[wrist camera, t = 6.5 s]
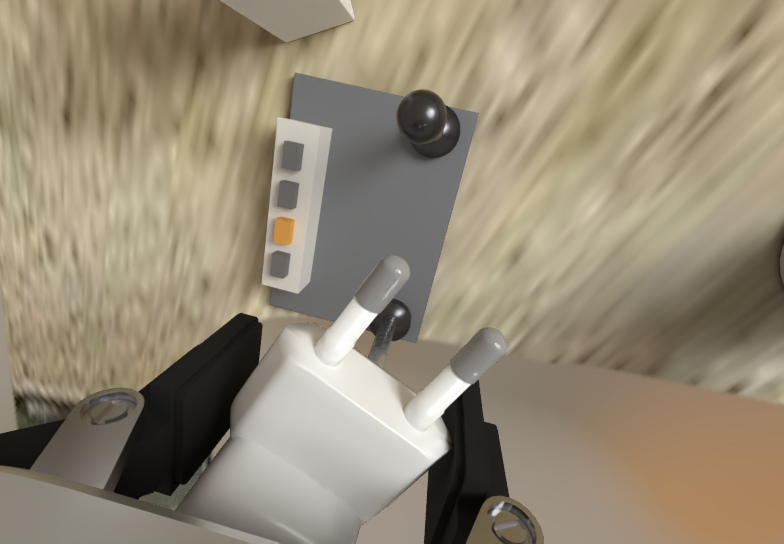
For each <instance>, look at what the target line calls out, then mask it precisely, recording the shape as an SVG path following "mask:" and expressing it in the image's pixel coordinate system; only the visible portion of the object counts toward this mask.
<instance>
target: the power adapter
mask: <svg viewBox="0 0 784 544" xmlns="http://www.w3.org/2000/svg"><path fill="white" fill-rule="evenodd" d="M409 277H410V268H409V265H408V264H407V262H406V261H405V260H404V259H403V258H401V257H399V256H397V255H387V256H384V257H383V258H382V259H381V260H380V261H379V263H378V264H377V265H376V267H375V268H374V269H373V270H372V272H371V273H370V274H369V276H368V277H367V278H366V280H365V281H364V282H363V284H362V285H361V286H360V287H359V289H358V290H357V291H356V293H355V296H354V298H353V299H352V300H351V302H350V303H349V304H348V305H347V307H346V308H345V309H344V311H343V312H342V313H341V315H340V316H339V317H338V318H337V320H336V321H335V322H334V324H332V325H330V326H329V328H328V329H325V328H323V327H321V326H320V325H318V324H317V323H297V324H289V325H288V326H287V327H286V328H285V329H284V330H283V331H282V332H281V334H280V335H279V336H278V337H277V339H276V340H275V341H274V343H273V344H272V346H271V347H270V349H269V350H268V351H267V353H266V354H265V356H264V357H263V359H262V360H261V361H260V363H259V364H258V365H257V367H256V368H255V370H254V371H253V373H252V374H251V375H250V377H249V378H248V380H247V381H246V382H245V384H244V385H243V387H242V388H241V389H240V391H239V392H238V394H237V395H236V397H235V399H234V401H233V403H232V405H231V414H230V438H229V439H228V440H227V442H226V443H225V444H224V445H223V447H222V448H221V449H220V451H219V452H218V453H217V455H216V456H215V457H214V458H213V460H212V461H211V462H210V464H209V465H208V466H207V468H206V469H205V470H204V472H203V473H202V474H201V476H200V477H199V478H198V480H197V481H196V482H195V484H194V485H193V486H192V488H191V489H190V490H189V492H188V493H187V494H186V496H185V497H184V499H183V500H182V501H181V503H180V504H179V505H178V507H177V508H176V509H175V511H177V512H180V513H183V514H187V515H190V516H193V517H197V518H200V519H203V520H207V521H210V522H213V523H216V524H220V525H223V526H226V527H229V528H233V529H236V530H239V531H243V532H246V533H249V534H252V535H256V536H259V537H262V538H265V539H269V540H272V541H275V542H278V543H281V544H356V540H357V537H358V534H359V530H360V527H361V525H363V524H364V523H366V522H367V521H369V520H370V519H371V518H373V517H374V516H376V515H377V514H378V513H380V512H381V511H382V510H384V509H385V508H386V507H388V506H389V505H390V504H391V503H392V502H393V501H394V500H396V499H397V498H398V497H399V496H400V495H401V494H402V493H403V492H405V491H406V490H407V489H408V488H409V487H410V486H411V485H412V484H413V483H414V482H415V481H417V480H418V479H419V478H420V477H421V476H422V475H423V474H424V473H426V472H427V471H428V470H429V469H430V468H431V467H432V466H433V465H435V464H436V463H437V462H438V461H439V460H440V459H441V458H442V457H444V456H445V455H446V454H447V453H448V452H449V451H450V450H451V449H452V448H453V440H452V438H451V436H450V434H449V432H448V430H447V428H446V426H445V424H444V422H443V420H442V418H441V415H442V414H443V413H444V411H445V409H446V408H447V407H448V406H449V405H450V404H451V403H452V402H453V401H454V400H455V399H457V398H458V397H459V396H460V395H461V394H462V393H463V392H464V391H465V390H466V389H467V388H468V387H469V386H470V385H471V384H474V383H475V382H476V381H477V380H478V379H480V377H482V375H484V374H485V373H486V372H487V371H488V370H489V369H490V368H491V367H492V366H493V365H494V364H495V363H496V362H497V361H498V360H499V359H500V358H501V357H502V356H503V355H504V354H505V353H506V351H507V342H506V339H505V337H504V336H503V335H502V333H500V332H499V331H498V330H496V329H494V328H490V327H486V328H483V329H481V330H479V331H478V332H477V333H476V334H475V335H474V336H473V337H472V338H471V339H470V341H469V342H468V343H467V344H466V345H465V346H464V347H463V348H462V349H461V350H460V351H459V352H458V353H457V354H456V355H455V356H454V357H453V358H452V359H451V361H450V363H449V364H448V365H447V366H446V367H445V368H444V370H442V372H441V373H440V374H439V375H438V376H437V377H436V378H435V379H434V380H433V381H432V382H431V383H430V384H429V385H428V386H427V387H426V388H424V389H422V390H421V391H420V392H419V393H416V392H415V391H414V390H412V389H410V388H409V387H408V386H407V385H405V384H404V383H402V382H401V381H400V380H398V379H397V378H395V377H394V376H393V375H391V374H390V373H389V372H387V371H386V370H384V369H383V368H382V367H380V366H379V365H378V364H376V363H375V362H374V361H372V360H371V359H369V358H368V357H367V356H365V355H364V354H362V353H361V352H360V351H358V350H357V349H356V348H354V345H355V342H356V340H357V339H358V338H359V337H360V336H361V334H362V333H363V332H364V331H365V329H366V328H367V327H368V326H369V325H370V323H371V322H372V321H373V320H374V318H375V317H376V316H377V315H378V314H379V313H381V312H382V311H383V310H384V309H385V307H386V306H387V305H388V304H389V303H390V301H391V300H392V299H393V298H394V296H395V295H396V294H397V293H398V292H399V290H400V289H401V288H402V287H403V285H404V284H405V283H406V282H407V281H408V279H409Z"/></svg>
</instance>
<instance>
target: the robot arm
mask: <svg viewBox="0 0 784 544" xmlns="http://www.w3.org/2000/svg"><path fill="white" fill-rule="evenodd" d="M780 274H781V278H782V281H783V285H784V244H783V247H782V252H781V257H780ZM261 336H262V323H260V322H258V318H257V317H254V316H250V315H247V314H243V313H239V314H237V315H236V316H235V317H234V318H232V319H231V320H230V321H229V322H227V323H226V324H225V325H224V326H222V327H221V328H220V329H219V330H217V331H216V332H215V333H214V334H212V335H211V336H210V337H209V338H207V339H206V340H205V341H204V342H202V343H201V344H199V345H197V346H196V347H194V348H193V349H192V350H191V351H189V352H188V353H187V354H186V355H184V356H183V357H182V358H180V359H179V360H178V361H177V362H175V363H174V364H173V365H172V366H170V367H169V368H168V369H167V370H165V371H164V372H163V373H162V374H160V375H159V376H158V377H157V378H155V379H154V380H153V381H152V382H150V383H149V384H148V385H146V386H145V387H144V388H143V389H141V390H140V391H139V392H138V391H135V390H132V389H127V388H114V389H108V390H103V391H99V392H97V393H95V394H92V395H90V396H88V397H86V398H85V399H83V400H82V401H80V402H79V403H78V404H77V405H76V406H75V407H74V408H73V410H72V411H71V412H70V414H69V415H68V417H67V418H66V419H64V420H59V421H55V422H50V423H46V424H42V425H37V426H33V427H28V428H24V429H19V430H15V431H10V432H6V433H1V434H0V544H281V543H278V542H275V541H272V540H269V539H265V538H262V537H259V536H256V535H252V534H249V533H246V532H243V531H239V530H236V529H233V528H229V527H226V526H223V525H220V524H216V523H213V522H210V521H207V520H203V519H200V518H197V517H193V516H190V515H187V514H183V513H180V512H177V511H173V510H170V509H167V508H163V507H160V506H157V505H154V504H150V503H147V502H144V501H145V499H146V495H148V494H150V493H153V492H154V491H155V492H159V493H162V494H165V495H169V496H171V495H172V493H173V492H174V491H175V490H176V488H177V487H178V486H179V485H180V484H182V485H184V484H186V483H187V482H188V481H189V480H190V479H191V477H192V476H193V475H194V474H195V472H196V471H197V470H198V468H199V467H200V466H201V464H202V463H203V462H204V461H205V459H206V458H207V457H208V455H209V454H210V453H211V452H212V450H213V449H214V448H215V446H216V445H217V444H218V443H219V441H220V440H221V439H222V437H223V436H224V435H225V433H226V432H227V431H228V430H229V428H230V414H231V405H232V403H233V401H234V399H235V397H236V395H237V394H238V392H239V391H240V389H241V388H242V387H243V385H244V384H245V382H246V381H247V380H248V378H249V377H250V375H251V374H252V373H253V371H254V370H255V368H256V367H257V365H258V364H259V355H260V345H261ZM441 418H442V420H443V422H444V424H445V426H446V428H447V430H448V432H449V434H450V436H451V438H452V440H453V448H452V449H451V450H450V451H449V452H448V453H447V454H446V455H445V456H444V457H442V458H441V459H440V460H439V461H438V462H437V463H436V464H435V465H433V466H432V467H431V468H430V469H429V472H428V488H427V504H426V520H425V521H426V522H425V536H424V544H544V537H543V533H542V530H541V527H540V525H539V523H538V522H537V520H536V518H535V517H534V516H533V515H532V513H531V512H530V511H529V510H528V509H527V508H526V507H524V506H523V505H522V504H520V503H519V502H517V501H515V500H513V499H511V498H509V493H508V488H507V481H506V476H505V470H504V464H503V458H502V452H501V446H500V441H499V435H498V430H497V426H496V425H495V424H491V423H487V422H484V418H483V411H482V403H481V395H480V387H479V379H478V380H477V381H476V382H475V383H474V384H471V385H470V386H469V387H468V388H467V389H466V390H465V391H464V392H463V393H462V394H461V395H460V396H459V397H458V398H457V399H455V400H454V401H453V402H452V403H451V404H450V405H449V406H448V407H447V408H446V409H445V411H444V413H443V414H442V415H441Z"/></svg>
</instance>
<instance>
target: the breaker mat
mask: <svg viewBox="0 0 784 544" xmlns="http://www.w3.org/2000/svg"><path fill="white" fill-rule="evenodd" d="M403 98H404V97H403V96H398V95H394V94H389V93H385V92H380V91H376V90H371V89H367V88H362V87H358V86H353V85H349V84H344V83H339V82H335V81H330V80H326V79H321V78H317V77H312V76H308V75H303V74H299V73H295V76H294V85H293V94H292V103H291V113H290V119H287V118H281V117H278V120H277V130H276V141H275V151H274V161H273V172H272V182H271V192H270V202H269V213H268V223H267V233H266V244H265V254H264V264H263V274H262V284H263V285H266V286H270V287H272V289H271V298H270V305H273V306H277V307H280V308H284V309H288V310H292V311H295V312H299V313H303V314H307V315H311V316H314V317H318V318H322V319H326V320H330V321H333V322H335V321H336V320H337V318H338V317H339V316H340V315H341V313H342V312H343V311H344V309H345V308H346V307H347V305H348V304H349V303H350V302H351V300H352V299H353V298H354V296H355V293H356V291H357V290H358V289H359V287H360V286H361V285H362V284H363V282H364V281H365V280H366V278H367V277H368V276H369V274H370V273H371V272H372V270H373V269H374V268H375V267H376V265H377V264H378V263H379V261H380V260H381V259H382V258H383V257H384V256H387V255H397V256H399V257H401V258H403V259H404V260H405V261H406V262H407V264H408V265H409V268H410V277H409V279H408V281H407V282H406V283H405V284H404V285H403V287H402V288H401V289H400V290H399V292H398V293H397V294H396V295H395V296H394V298H393V299H397V300H399V301H401V302H403V303H404V304H405V305H406V306H407V307H408V309H409V310H410V313H411V325H410V329H409V331H408V333H407V334H406V335H405V336H404V337H403V338H401V339H402V340H406V341H410V342H413V343H416V342H417V339H418V335H419V331H420V328H421V324H422V320H423V317H424V313H425V309H426V306H427V302H428V298H429V294H430V291H431V287H432V283H433V280H434V276H435V272H436V269H437V265H438V261H439V258H440V254H441V250H442V247H443V243H444V239H445V236H446V232H447V228H448V225H449V221H450V217H451V214H452V210H453V206H454V203H455V199H456V195H457V192H458V188H459V184H460V180H461V177H462V173H463V169H464V166H465V162H466V158H467V155H468V151H469V147H470V144H471V140H472V136H473V133H474V129H475V125H476V122H477V118H478V114H479V113H475V112H471V111H466V110H462V109H457V108H453V107H450V108H451V109H452V110H453V111H454V112H455V114H456V115H457V117H458V119H459V122H460V137H459V140H458V142H457V144H456V146H455V147H454V149H453V150H452V151H451V152H450V153H448V154H447V155H445V156H443V157H439V158H427V157H424V156H422V155H421V154H419V153H418V152H417V151H416V150H415V149H414V148H413V146H412V144H411V142H410V141H408V140H407V139H406V138H404V137H403V135H402V134H401V133H400V131H399V129H398V126H397V121H396V114H397V109H398V106H399V104H400V102H401V101H402V100H403ZM365 330H368V331H371V330H370V328H369V326H368V327H367V328H366V329H365ZM371 332H372V331H371Z"/></svg>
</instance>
